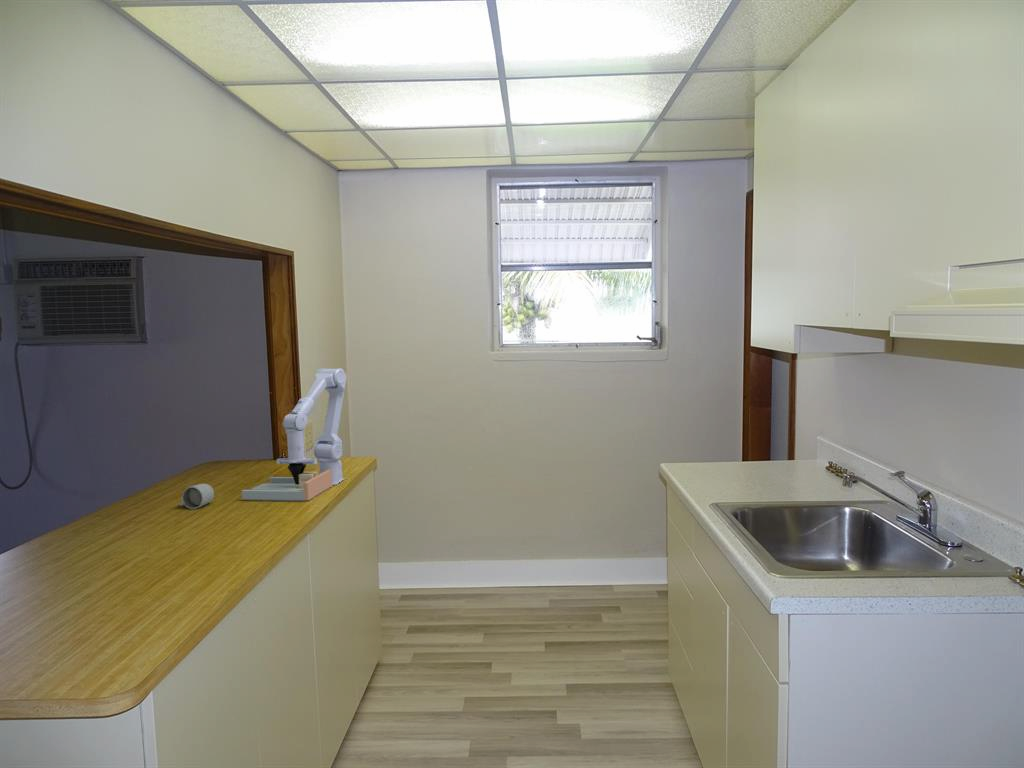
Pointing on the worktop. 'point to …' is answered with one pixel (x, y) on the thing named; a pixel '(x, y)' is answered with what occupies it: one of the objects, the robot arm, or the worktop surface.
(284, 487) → the box
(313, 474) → the birch block
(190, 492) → the ceramic mug
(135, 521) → the worktop surface
